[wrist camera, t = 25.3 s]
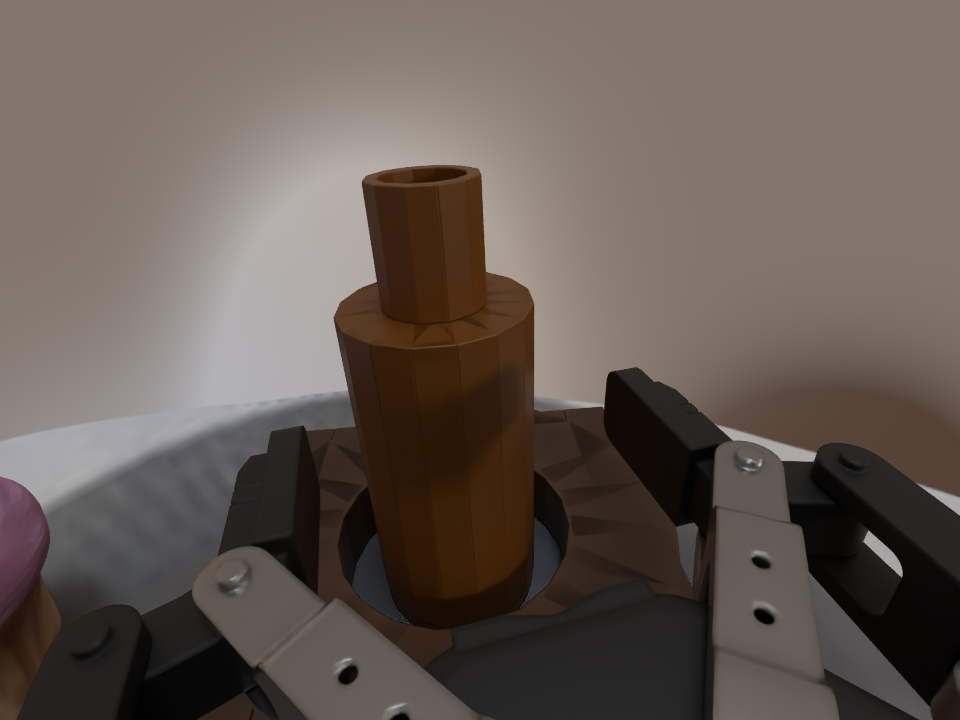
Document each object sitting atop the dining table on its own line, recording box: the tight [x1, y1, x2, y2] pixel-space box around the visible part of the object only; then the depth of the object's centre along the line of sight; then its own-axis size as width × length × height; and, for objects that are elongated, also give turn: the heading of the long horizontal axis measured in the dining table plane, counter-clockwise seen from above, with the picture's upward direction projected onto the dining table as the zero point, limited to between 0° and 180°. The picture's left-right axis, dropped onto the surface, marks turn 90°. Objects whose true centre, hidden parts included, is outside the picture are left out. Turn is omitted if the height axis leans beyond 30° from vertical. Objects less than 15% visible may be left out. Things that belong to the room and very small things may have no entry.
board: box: [197, 407, 692, 720], centre depth 22 cm, size 18×18×3 cm
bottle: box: [334, 165, 534, 630], centre depth 19 cm, size 6×6×17 cm
